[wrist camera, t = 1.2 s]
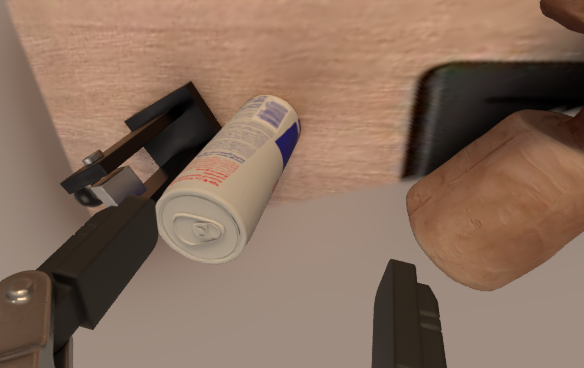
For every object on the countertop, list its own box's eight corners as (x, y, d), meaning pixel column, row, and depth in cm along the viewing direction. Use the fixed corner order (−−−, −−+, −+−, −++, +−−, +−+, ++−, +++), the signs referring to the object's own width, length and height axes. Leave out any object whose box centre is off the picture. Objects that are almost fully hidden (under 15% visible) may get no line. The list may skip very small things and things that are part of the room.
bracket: (175, 174, 38) (101, 251, 29) (131, 116, 36) (34, 180, 26) (234, 147, 35) (174, 224, 25) (191, 80, 32) (104, 139, 22)
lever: (110, 194, 35) (85, 213, 34) (90, 171, 34) (63, 189, 33) (153, 190, 27) (121, 215, 26) (128, 160, 26) (94, 184, 25)
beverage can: (228, 120, 33) (133, 221, 21) (268, 79, 30) (185, 169, 18) (272, 162, 35) (207, 281, 22) (314, 127, 32) (266, 241, 19)
